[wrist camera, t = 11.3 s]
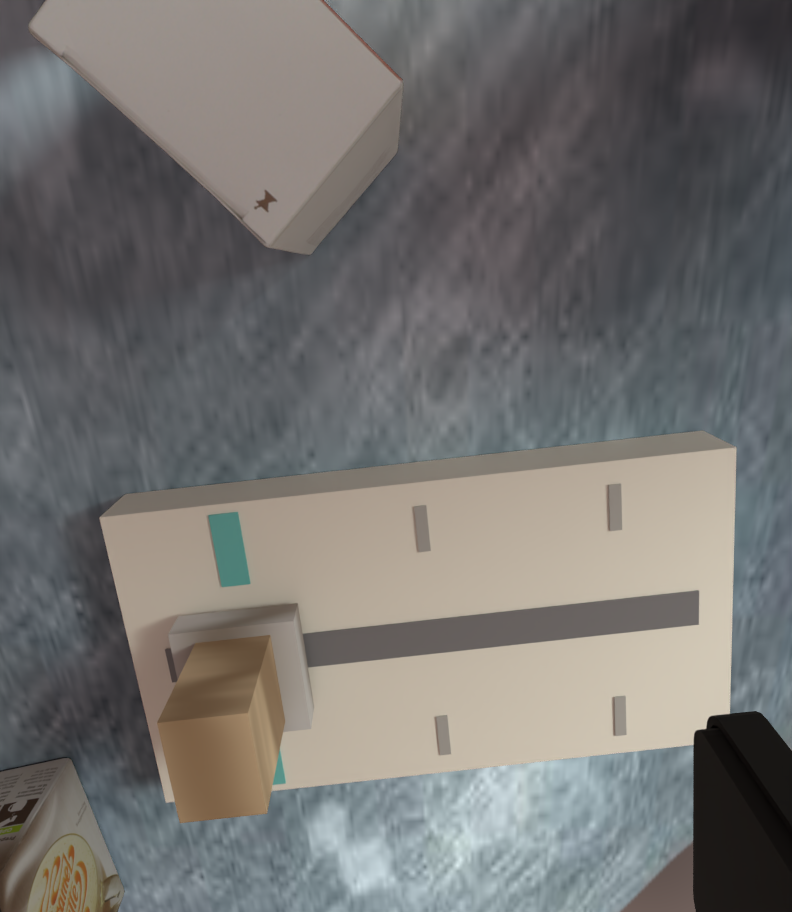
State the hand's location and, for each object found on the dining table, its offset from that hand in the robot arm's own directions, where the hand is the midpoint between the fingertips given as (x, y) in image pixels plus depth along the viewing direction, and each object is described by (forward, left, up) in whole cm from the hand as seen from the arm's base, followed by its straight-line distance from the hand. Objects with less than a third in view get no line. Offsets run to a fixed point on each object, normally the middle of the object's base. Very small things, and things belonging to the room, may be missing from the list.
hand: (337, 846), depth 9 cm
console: (-2, +9, -23) cm, 24 cm away
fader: (+6, +9, -19) cm, 22 cm away
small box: (+2, -12, -23) cm, 26 cm away
